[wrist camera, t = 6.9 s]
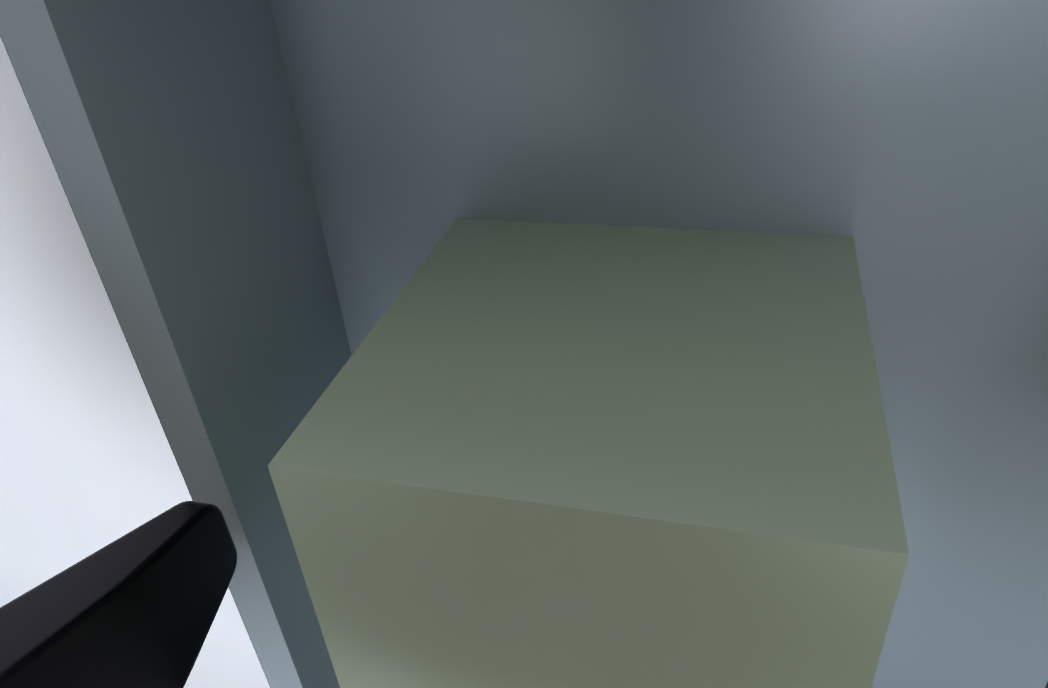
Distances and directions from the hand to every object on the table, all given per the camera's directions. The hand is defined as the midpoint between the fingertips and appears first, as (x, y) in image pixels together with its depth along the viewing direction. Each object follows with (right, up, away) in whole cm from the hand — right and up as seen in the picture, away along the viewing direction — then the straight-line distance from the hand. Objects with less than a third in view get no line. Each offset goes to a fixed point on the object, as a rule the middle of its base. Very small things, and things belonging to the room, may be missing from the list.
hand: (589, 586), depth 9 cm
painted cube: (+1, +2, +3) cm, 4 cm away
